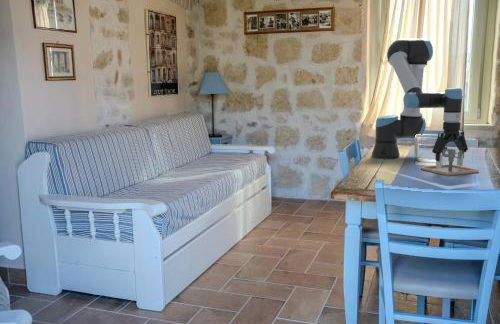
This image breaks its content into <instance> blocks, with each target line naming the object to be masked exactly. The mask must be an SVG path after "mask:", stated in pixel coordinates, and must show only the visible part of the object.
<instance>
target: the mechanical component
mask: <svg viewBox="0 0 500 324" xmlns="http://www.w3.org/2000/svg"><path fill="white" fill-rule="evenodd" d="M446 152H447V153H446ZM458 152H459V153H458ZM458 152H457V151H456V149H455V148H454V149H453V148H444V149H443V151H442V152H441V154H442V158H448V159H447V161H448V164H449V168H448V170H452V165H453V162H454V161H455V160H454V159H457V158H461V157H462V154H463V153H464V154H465V152H464V151H463V150H460V151H458ZM458 154H460V156H458ZM456 155H457V156H456Z"/></svg>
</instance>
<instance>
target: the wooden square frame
mask: <svg viewBox="0 0 500 324" xmlns="http://www.w3.org/2000/svg"><path fill="white" fill-rule="evenodd" d="M448 168H449V163H448V164H447V163H446V164H442V166H441V168H437V167H436V165H428V166H427V165H425V166H420V170H421V169H422V170H421V171H424V170H425V171H426V172H429V173H434V174H438V175H442V176H446V177H447V176H448V177H451V176H458V175H459V176H460V175H469V174H479V171H480V170H479V169H477V168H471V167H467V166H459V165H457V164H452V170H448Z"/></svg>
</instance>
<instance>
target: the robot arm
mask: <svg viewBox="0 0 500 324" xmlns="http://www.w3.org/2000/svg"><path fill="white" fill-rule="evenodd" d="M433 56H434V47H433V45H432V42H431V41H430V40H429V39H427V38H398V39H396V40H394V41H393V42H392V43H391V44H390V46H389V47H388V49H387V52H386V58H387V61H388V64H389V65H390V66H391V67H392V68H393V70H394V73H395V74H396V76H397V79H398V81H399V83H400V85H401V87H402V90H403V92H404V96H403V100H402V101H403V111H401V113H400V115H397V114H391V115H389V114H388V115H382V116H379V117H377V118H376V119H375V141H374V146H373V150H372V152H371V157H372V158H373V159H381V160H396V159H399V158H400V156H401V155H400V150H399V147H398V139H414V138H415V135H416V134H421V135H422V136H423V135H424V133H425V131H426V127H427V124H426V123H427V122H426V118H424V117H423V113H421V109H437V108H438V109H441V108H443V120H442V121H443V122H442V130H443V132H440V131H439V132H438V133H437V138H436V140H435V143H434V146H433V148H432V151H431V152H432V153H433V154H435V166H436V167H437V168H441V166H442V165H443V164H442V163H443V156H442V153H441V152H442V151H443V149H446V146H447V144H449V143H451V142H453V143H454V145H455V146H456V148H457V150H458V151H457V153H459V152H460V150H463V151H464V153H463V154H462V157H461V158H456V159H457V160H456V161H457V162H456V165H457V166H462V167H464V158H465V153H467V151H468V150H469V147H468V144H467V141H466V137H465V131H464V130H463V131H461V121H462V120H461V118H462V106H463V105H462V104H463V89H462V88H460V87H452V88H451V87H449V88H446V89H444V91H435V92H434V91H432V92H431V91H430V92H427V91H424V92H423V79H424V69H425V67H427V65H428V62H429V61H431V60H432V59H433ZM458 156H460V154H457V157H458Z"/></svg>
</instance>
